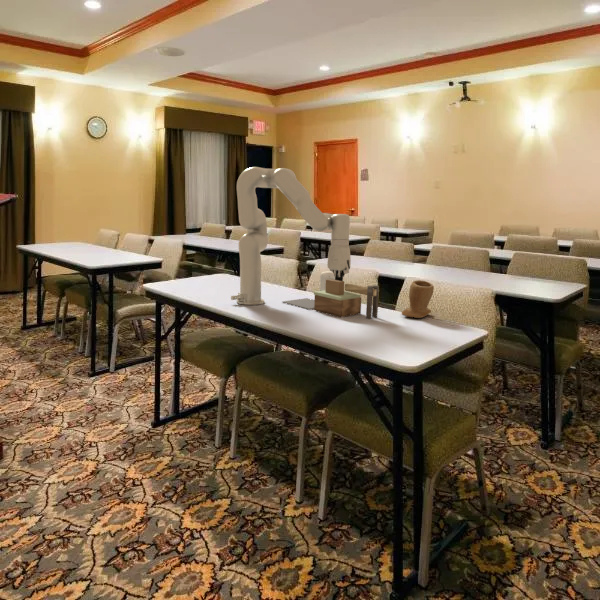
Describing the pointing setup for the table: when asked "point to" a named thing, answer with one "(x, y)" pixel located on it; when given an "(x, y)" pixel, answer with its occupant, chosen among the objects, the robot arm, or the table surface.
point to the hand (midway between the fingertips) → (338, 285)
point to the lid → (336, 291)
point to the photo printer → (324, 277)
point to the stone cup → (419, 299)
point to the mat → (302, 303)
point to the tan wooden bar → (358, 289)
